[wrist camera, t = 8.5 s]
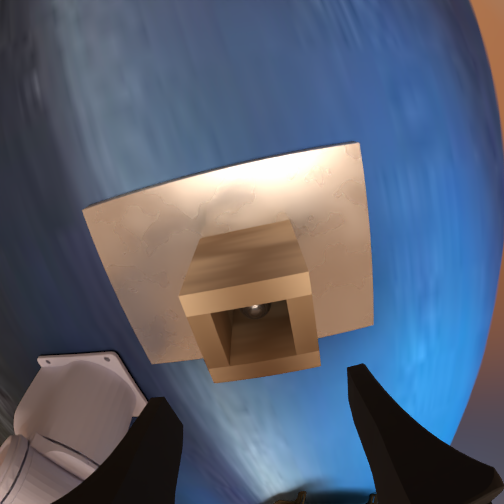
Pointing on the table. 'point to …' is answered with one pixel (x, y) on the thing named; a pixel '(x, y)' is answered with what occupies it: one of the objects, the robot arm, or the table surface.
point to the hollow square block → (251, 303)
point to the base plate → (232, 219)
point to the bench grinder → (297, 502)
